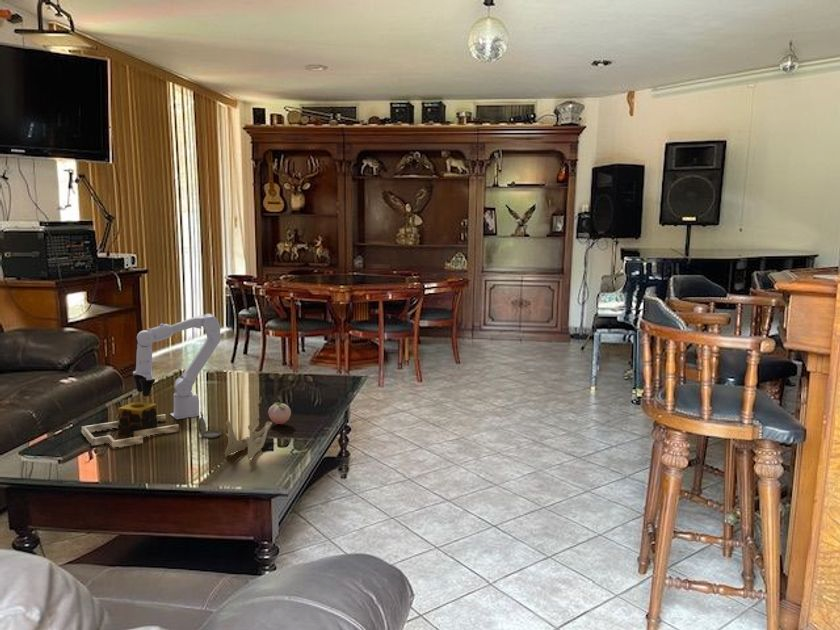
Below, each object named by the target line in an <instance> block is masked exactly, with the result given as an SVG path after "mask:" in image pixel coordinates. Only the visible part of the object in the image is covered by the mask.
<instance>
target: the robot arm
mask: <svg viewBox="0 0 840 630" xmlns="http://www.w3.org/2000/svg"><path fill="white" fill-rule="evenodd" d="M193 328H196V329H198V330H199V329H200V330H201V329H202V328H203V329H204V331H205V334H206V338H207V339H205V341H204V343H203V344H202V346H201V347H200V349H199V350H198V352H197V354H196V355H195V356H194V358H193V360H192V361H191V363H190V364H189V366H188V367H187V369H186V370H185V371H184V372H183V373H181V375H180V376H179V377H178V378H176V379H175V380H174V383H173V385H174V389H175V392H174V393H173V412H171V413H170V416H172V417H173V418H174V419H175V420H179V419H180V420H181V419H188V417H189V418H195V417H199V416H200V400H199V395H198V394H197V393H193V392H192V391H193V386H194V384H195V383H196V379H197V377H198V376H199V374H200V372H202V370H203V368H204V367H205V365H206V363H207V362H208V360H209V359H210V357H211V355H212V354H213V353H214V351H215V350H216V348H217V347H218V345H219V344H220V342H221V325H220V323H219V320H218V319H217V317H216V316H215V315H214V314H212V313H205V314H201V315H196V316H193V317H190V318H188V319H186V320H182V321H179V322H176V323H174V324H171V325H170V324H169V323H160V324H159V325H158V326H154V327H152V328H151V327H147V330H145V329H143V330H141V331H139V332H138V333H137V336H136V340H137V341H136V342H137V344H136V348H137V349H136V357H135V358H136V360H135V361H136V362H135V365H136V366H135V370H134V371H132V378H133V380H134V382H135V388H136V391H137V393H138V392H139V393H140V392H141V393H142V396H143V397H149V396H150V394H151V391H152V387H153V385H154V383H155V381H156V379H155V378H153V371H152V370H153V369H152V367H153V347H152V346H153V343H157V342H160V341H164V340H167V339H169V338H172V336H173V335H174V334H175V333H179V332H181V331H185V330H188V329H193Z"/></svg>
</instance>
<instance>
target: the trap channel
mask: <svg viewBox="0 0 840 630" xmlns="http://www.w3.org/2000/svg"><path fill="white" fill-rule="evenodd" d="M166 417H167V415H166V414H165V413H164V414H157V423H159V422H158V421H161V422H165V421H167V420H166ZM118 423H119V420H115V421H110V422H103V423H96V424H90V425H83V426H82V425H81V434H82V435H83V436H84V438H85V437H86V438H85V439H86V440H87V441H88V443H89V444H90V443H91V444H90V445H91V446H99V445H104V443H106V444H108V443H109V444H110V445H111V446H112V447H113V448H112V447H111V446H110V445H109V444H108V445H109V446H110V447H111V448H112V449H115V448H114V447H119V448H124V446H125V447H129V446H135V444H136V445H142V444H144V438H146V436H147V437H151V436H150V435H153V434H159V433H165V434H170V433H177V432H179V430H180V426H179V424H178V423H177V424H172V425H165V426H157V428H151V429H145V430H139V431H134V435H133V437H127V438H126V437H125V438H120V439H114V438H113V436H111V434H109V435H103V436H97V437H95V436H94V435H93V434H92V433H95V431H97V432H102V430H103V431H108V430H107V429H110V430H113V429H112V428H116V429H118ZM159 435H160V434H159ZM153 436H154V435H153ZM141 443H142V444H141Z"/></svg>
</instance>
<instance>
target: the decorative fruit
mask: <svg viewBox="0 0 840 630" xmlns="http://www.w3.org/2000/svg"><path fill="white" fill-rule="evenodd" d="M267 414H268V416H269V418H270V420H271V422H272V423H274V424H276V425H277V424H281V425H283V424H285V423H286V422H287V421H288V420H289V419H290V417H291V415H292V410H291V408H290V407H289V406H288V405H287V404H286V403H282V402H281V401H279V402H274V403H273V404H272V405H270V407H269V409H268V411H267Z"/></svg>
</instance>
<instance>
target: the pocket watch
mask: <svg viewBox="0 0 840 630" xmlns="http://www.w3.org/2000/svg"><path fill="white" fill-rule="evenodd" d="M199 414H200V416H201V417H199V418H198V420H197V429H198V430H197V431H198V432H199V435H200V436H201V437H203V438H206V439H207V438H208V439H213V438H214V439H215V438H218V437H220V435H221V431H220V430H219V431H218V430H206V429H207V427H206V426H207V425H206V420H205V419H204V414H203V412H202V411H199Z"/></svg>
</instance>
